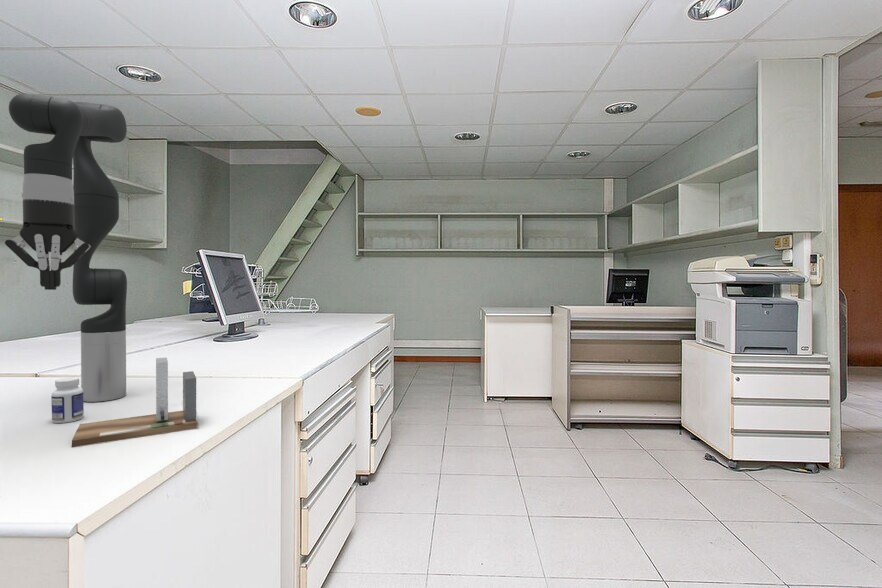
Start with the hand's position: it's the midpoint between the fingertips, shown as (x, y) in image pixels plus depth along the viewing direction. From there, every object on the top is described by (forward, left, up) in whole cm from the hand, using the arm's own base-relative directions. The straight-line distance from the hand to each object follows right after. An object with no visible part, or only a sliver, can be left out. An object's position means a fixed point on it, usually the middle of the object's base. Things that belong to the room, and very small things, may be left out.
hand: (50, 289), depth 86 cm
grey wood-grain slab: (+6, +23, -27) cm, 36 cm away
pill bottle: (-9, +1, -29) cm, 30 cm away
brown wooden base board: (+6, +14, -29) cm, 33 cm away
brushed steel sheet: (+7, +18, -27) cm, 33 cm away
